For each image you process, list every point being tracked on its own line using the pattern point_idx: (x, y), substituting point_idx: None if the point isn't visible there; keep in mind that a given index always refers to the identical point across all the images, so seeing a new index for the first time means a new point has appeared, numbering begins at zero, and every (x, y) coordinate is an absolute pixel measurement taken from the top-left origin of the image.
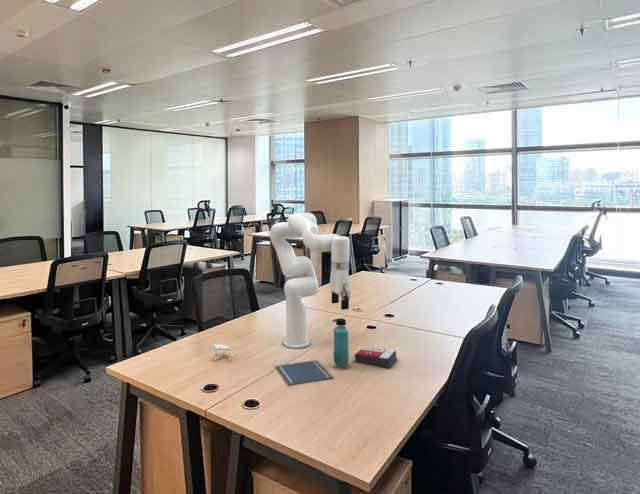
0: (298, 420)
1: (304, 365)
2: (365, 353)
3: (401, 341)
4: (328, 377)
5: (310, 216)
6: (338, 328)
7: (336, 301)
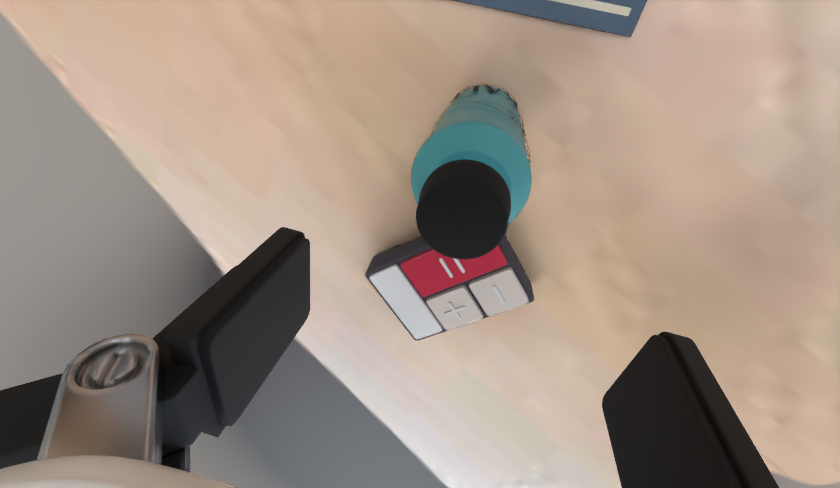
0: None
1: None
2: None
3: (524, 421)
4: None
5: None
6: (458, 158)
7: (624, 398)
